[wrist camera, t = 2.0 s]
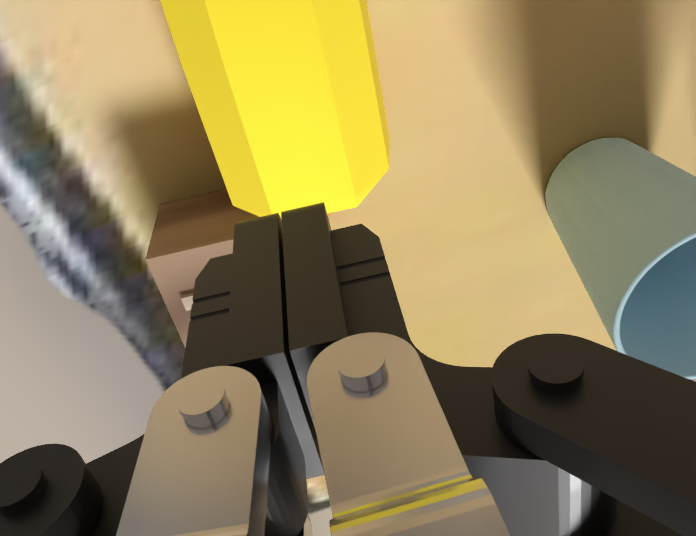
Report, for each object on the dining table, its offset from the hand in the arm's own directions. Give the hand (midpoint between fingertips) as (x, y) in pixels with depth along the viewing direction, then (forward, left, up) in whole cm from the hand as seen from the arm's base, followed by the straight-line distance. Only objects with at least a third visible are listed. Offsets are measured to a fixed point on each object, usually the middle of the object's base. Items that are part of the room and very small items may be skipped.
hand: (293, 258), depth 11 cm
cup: (+12, +14, -20) cm, 27 cm away
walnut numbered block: (+10, -5, -20) cm, 22 cm away
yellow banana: (0, 0, -20) cm, 20 cm away
